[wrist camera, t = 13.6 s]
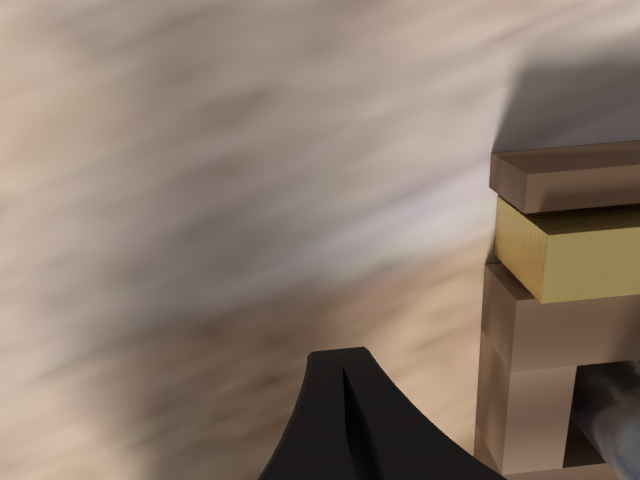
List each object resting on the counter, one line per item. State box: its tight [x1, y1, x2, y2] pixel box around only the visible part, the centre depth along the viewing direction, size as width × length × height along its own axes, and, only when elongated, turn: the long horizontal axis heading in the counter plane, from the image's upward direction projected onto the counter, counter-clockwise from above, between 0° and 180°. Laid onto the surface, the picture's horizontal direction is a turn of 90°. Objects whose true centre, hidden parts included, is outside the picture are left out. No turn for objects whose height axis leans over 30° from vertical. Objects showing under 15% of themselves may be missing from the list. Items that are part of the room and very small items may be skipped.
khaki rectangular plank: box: [494, 196, 640, 304], centre depth 19 cm, size 2×6×4 cm, turn 94°
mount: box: [474, 140, 640, 480], centre depth 21 cm, size 15×10×3 cm, turn 4°
